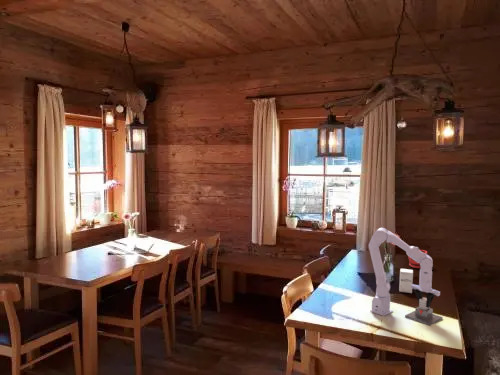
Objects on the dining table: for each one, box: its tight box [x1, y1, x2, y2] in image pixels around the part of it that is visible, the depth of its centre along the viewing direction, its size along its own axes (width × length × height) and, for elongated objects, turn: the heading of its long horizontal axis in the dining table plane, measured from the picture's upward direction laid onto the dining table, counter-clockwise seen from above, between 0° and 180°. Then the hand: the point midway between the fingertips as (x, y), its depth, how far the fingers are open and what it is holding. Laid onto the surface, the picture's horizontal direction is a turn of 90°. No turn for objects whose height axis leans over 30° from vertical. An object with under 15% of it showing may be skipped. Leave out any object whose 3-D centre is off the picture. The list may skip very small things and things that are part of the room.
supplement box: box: [398, 268, 414, 294], centre depth 251 cm, size 7×7×13 cm
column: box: [418, 297, 430, 311], centre depth 209 cm, size 4×4×9 cm
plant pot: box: [407, 249, 428, 269], centre depth 303 cm, size 13×13×12 cm
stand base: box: [404, 306, 443, 327], centre depth 210 cm, size 13×13×5 cm
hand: (424, 305), depth 209 cm, fingers closed on column, 4 cm apart
